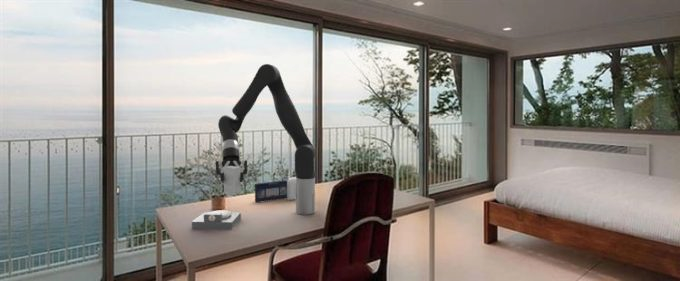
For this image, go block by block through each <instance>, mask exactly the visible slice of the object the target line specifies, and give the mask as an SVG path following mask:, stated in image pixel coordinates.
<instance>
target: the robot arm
mask: <svg viewBox="0 0 680 281" xmlns="http://www.w3.org/2000/svg"><path fill="white" fill-rule="evenodd" d="M283 81H284V80H283V78H282V76H281V73H280V70H279V69H278V67H276V66H275V65H273V64H270V63H269V64H268V63H265V64H262V65H261V66H260V67H259V68H258V69H257V72H256V74H254V77H253V79H252V81H251V82H250V84H249V85H248V87H247V89H246V91H245V92H244V93H243V94H242V96H241V97H240V98H239V100H237V101H236V104H235V105H234V106H233V107H232V110H231V112H232V114H233V115H234V116H235V118H233V117H231V116H229V115H225V114H224V115H221V117H220V118H219V120H218V129H219V133H220V135H221V137H222V138H221V139H222V147H221V150H222V161H218V160H216V161H215V175H216V176H219V178H220V182H222V184H224V167H227V166H236V167H240V183H243V181H244V175H247V174H248V161H247V160H244V161H241V159H240V146H239V138H238V137H239V136H238V132H240V130H241V128H242V125H243V122H244V120H245V118H246V116H247V115H248V114H249V112H250V111H251V110H252V109H253V108H254V105H255V104H256V102H257V99H258V98H259V95H260V94H261V93H262V92H263V90H264V89H265V88H266V87H267V88H268V90H269V91H270V93H271V96H272V100H273V104H274V109H275V112H276V115H277V118H278V119H279V122H280V124H281V126H282V127H283V129H284V130H285V131H286V132H287V134H288V135H289V136H290V138H291V140H292V142H293V144H294V146H295V149H296V150H295V152H294V173H295V177H296V199H295V213H296V214H298V215H306V216H307V215H313V214H315V212H316V172H315V158H316V155H317V152H316V148H315V146H313V144H312V142H311V140H310V138H309V137H308V135H307V133H306V130H305V128H304V125H303V123H302V120H301V118H300V116H299V113H298V111H297V108H296V107H295V105H294V103H293V100H292V99H291V97H290V95H289V94H288V91H287V90H286V87H285V84H284V82H283ZM241 165H242V167H241ZM221 166H222V169H221V170H220V168H221ZM242 168H243V169H242Z"/></svg>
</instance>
